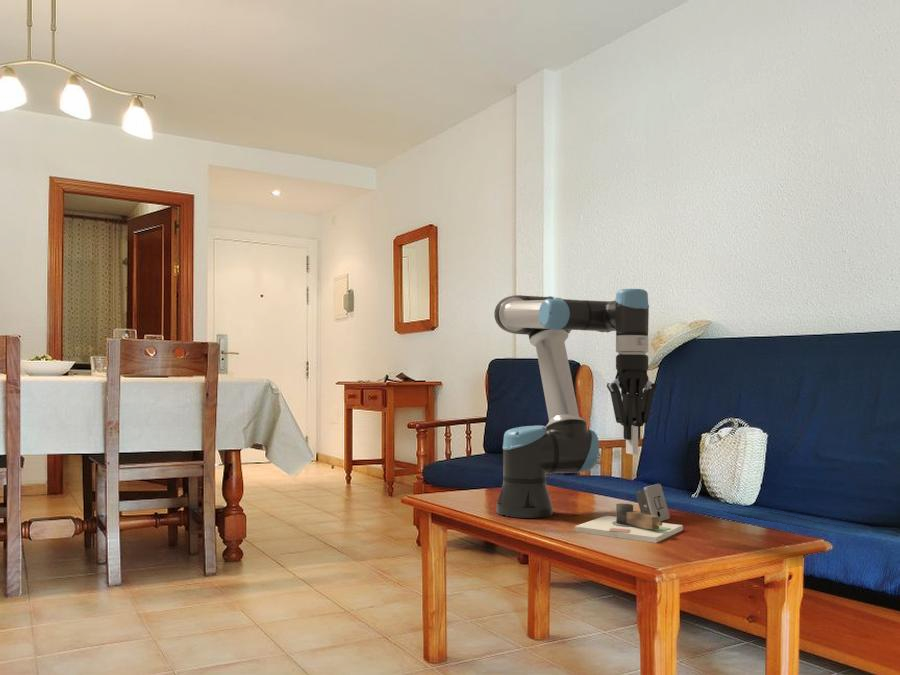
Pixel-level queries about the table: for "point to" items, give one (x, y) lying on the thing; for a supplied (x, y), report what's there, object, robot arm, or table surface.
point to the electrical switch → (653, 502)
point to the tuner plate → (627, 530)
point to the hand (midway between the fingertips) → (631, 453)
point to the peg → (635, 517)
